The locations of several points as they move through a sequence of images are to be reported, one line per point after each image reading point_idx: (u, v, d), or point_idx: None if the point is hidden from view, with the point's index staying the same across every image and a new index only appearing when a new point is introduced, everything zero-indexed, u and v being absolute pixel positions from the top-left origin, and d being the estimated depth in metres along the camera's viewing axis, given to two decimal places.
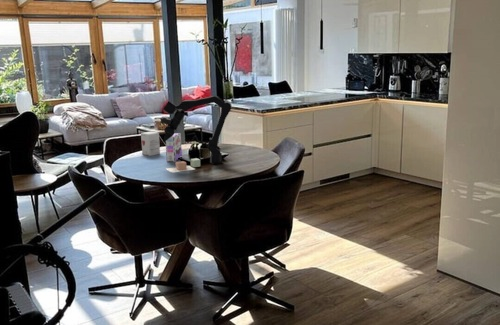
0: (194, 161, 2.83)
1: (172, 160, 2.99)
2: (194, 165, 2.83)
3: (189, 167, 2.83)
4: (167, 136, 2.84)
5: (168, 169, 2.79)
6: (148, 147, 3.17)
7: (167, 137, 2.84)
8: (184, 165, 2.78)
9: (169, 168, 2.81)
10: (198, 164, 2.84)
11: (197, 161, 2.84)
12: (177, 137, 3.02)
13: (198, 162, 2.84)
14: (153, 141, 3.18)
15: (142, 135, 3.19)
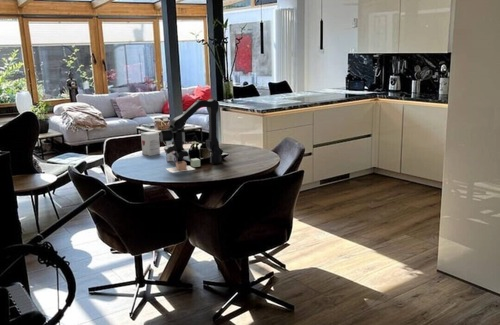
0: (194, 161, 2.83)
1: (172, 160, 2.99)
2: (194, 165, 2.83)
3: (189, 167, 2.83)
4: (180, 158, 2.81)
5: (168, 169, 2.79)
6: (148, 147, 3.17)
7: (180, 159, 2.81)
8: (184, 165, 2.77)
9: (169, 168, 2.81)
10: (198, 164, 2.84)
11: (197, 161, 2.84)
12: None
13: (198, 162, 2.84)
14: (153, 141, 3.18)
15: (142, 135, 3.19)
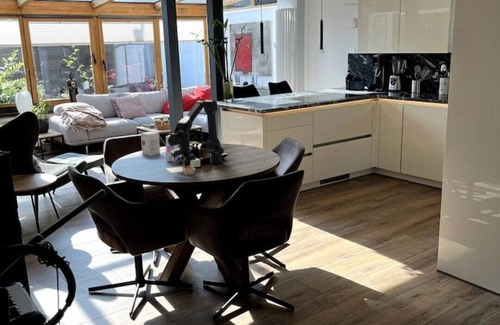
0: (194, 161, 2.83)
1: (172, 160, 2.99)
2: (194, 165, 2.83)
3: None
4: (187, 162, 2.71)
5: (168, 169, 2.79)
6: (148, 147, 3.17)
7: (187, 163, 2.71)
8: (191, 170, 2.67)
9: (169, 168, 2.81)
10: (198, 164, 2.84)
11: (197, 161, 2.84)
12: None
13: (198, 162, 2.84)
14: (153, 141, 3.18)
15: (142, 135, 3.19)
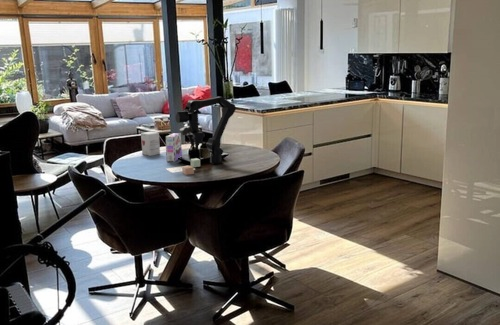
0: (194, 161, 2.83)
1: (172, 160, 2.99)
2: (194, 165, 2.83)
3: None
4: (197, 141, 2.79)
5: (168, 169, 2.79)
6: (148, 147, 3.17)
7: (198, 142, 2.79)
8: (191, 170, 2.67)
9: (169, 168, 2.81)
10: (198, 164, 2.84)
11: (197, 161, 2.84)
12: (177, 137, 3.02)
13: (198, 162, 2.84)
14: (153, 141, 3.18)
15: (142, 135, 3.19)
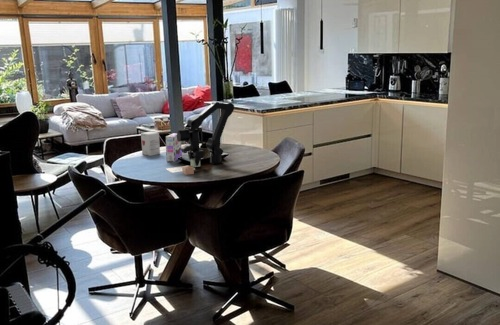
0: (194, 161, 2.83)
1: (172, 160, 2.99)
2: (194, 165, 2.83)
3: None
4: (198, 159, 2.82)
5: (168, 169, 2.79)
6: (148, 147, 3.17)
7: (198, 159, 2.82)
8: (191, 170, 2.67)
9: (169, 168, 2.81)
10: None
11: None
12: None
13: None
14: (153, 141, 3.18)
15: (142, 135, 3.19)
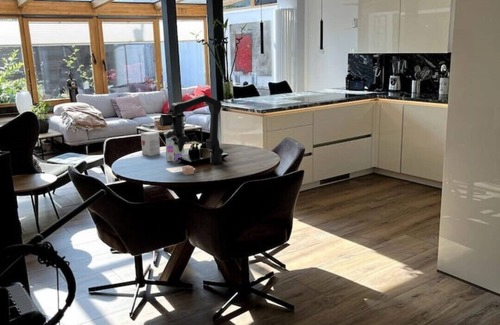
0: (177, 147, 2.75)
1: (172, 160, 2.99)
2: (177, 151, 2.75)
3: None
4: (181, 144, 2.74)
5: (168, 169, 2.79)
6: (148, 147, 3.17)
7: (182, 145, 2.75)
8: (191, 170, 2.67)
9: (169, 168, 2.81)
10: None
11: None
12: None
13: None
14: (153, 141, 3.18)
15: (142, 135, 3.19)
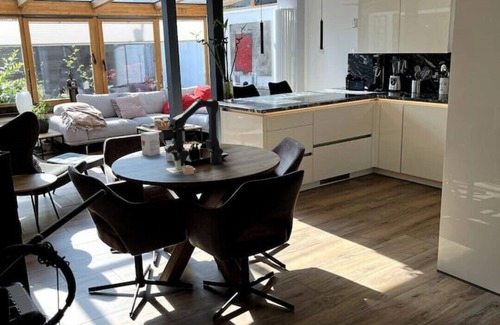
0: (178, 163, 2.77)
1: (172, 160, 2.99)
2: (178, 167, 2.78)
3: None
4: (183, 159, 2.75)
5: (168, 169, 2.79)
6: (148, 147, 3.17)
7: (183, 160, 2.75)
8: (191, 170, 2.67)
9: (169, 168, 2.81)
10: (182, 166, 2.79)
11: None
12: None
13: None
14: (153, 141, 3.18)
15: (142, 135, 3.19)
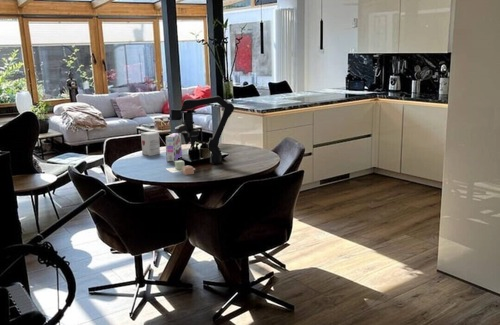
0: (178, 163, 2.77)
1: (172, 160, 2.99)
2: (178, 167, 2.78)
3: None
4: (193, 140, 2.84)
5: (168, 169, 2.79)
6: (148, 147, 3.17)
7: (193, 140, 2.84)
8: (191, 170, 2.67)
9: (169, 168, 2.81)
10: (182, 166, 2.79)
11: (181, 163, 2.78)
12: (177, 137, 3.02)
13: (182, 164, 2.79)
14: (153, 141, 3.18)
15: (142, 135, 3.19)
